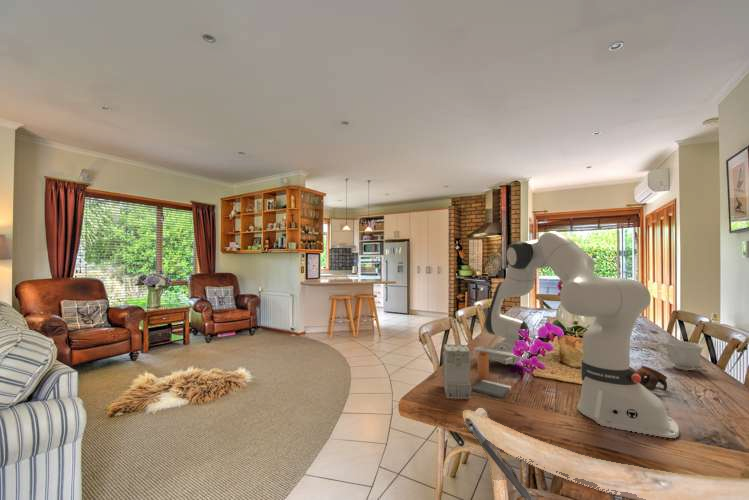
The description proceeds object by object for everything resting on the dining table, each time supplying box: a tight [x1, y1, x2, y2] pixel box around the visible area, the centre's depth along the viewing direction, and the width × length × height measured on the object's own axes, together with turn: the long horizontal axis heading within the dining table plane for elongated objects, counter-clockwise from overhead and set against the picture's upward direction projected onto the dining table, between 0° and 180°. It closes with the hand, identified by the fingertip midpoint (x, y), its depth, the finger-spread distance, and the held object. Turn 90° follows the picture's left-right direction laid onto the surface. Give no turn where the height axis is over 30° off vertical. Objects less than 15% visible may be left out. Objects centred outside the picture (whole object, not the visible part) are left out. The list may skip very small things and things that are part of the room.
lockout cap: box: [476, 350, 490, 381], centre depth 123 cm, size 4×4×10 cm
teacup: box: [655, 339, 705, 371], centre depth 136 cm, size 12×15×10 cm
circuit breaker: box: [442, 343, 472, 400], centre depth 113 cm, size 8×14×15 cm, turn 174°
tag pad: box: [471, 380, 512, 399], centre depth 113 cm, size 10×10×1 cm
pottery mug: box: [636, 365, 668, 391], centre depth 114 cm, size 12×10×8 cm
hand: (492, 359), depth 130 cm, fingers open, 8 cm apart
